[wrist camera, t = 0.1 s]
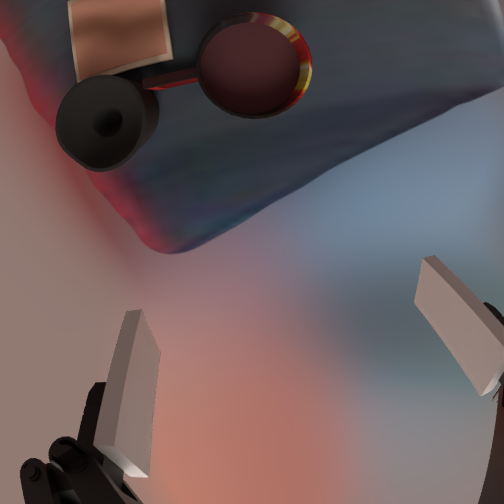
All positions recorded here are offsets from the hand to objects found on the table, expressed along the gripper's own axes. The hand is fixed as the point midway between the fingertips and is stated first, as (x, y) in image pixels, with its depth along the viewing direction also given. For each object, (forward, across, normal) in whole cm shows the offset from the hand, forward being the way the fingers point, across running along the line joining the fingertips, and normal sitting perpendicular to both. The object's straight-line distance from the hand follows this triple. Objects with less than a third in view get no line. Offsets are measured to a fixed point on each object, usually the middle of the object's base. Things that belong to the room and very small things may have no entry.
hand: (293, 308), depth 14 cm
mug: (+28, 0, +10) cm, 30 cm away
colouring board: (+28, -12, +21) cm, 37 cm away
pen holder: (+28, -13, +9) cm, 32 cm away
